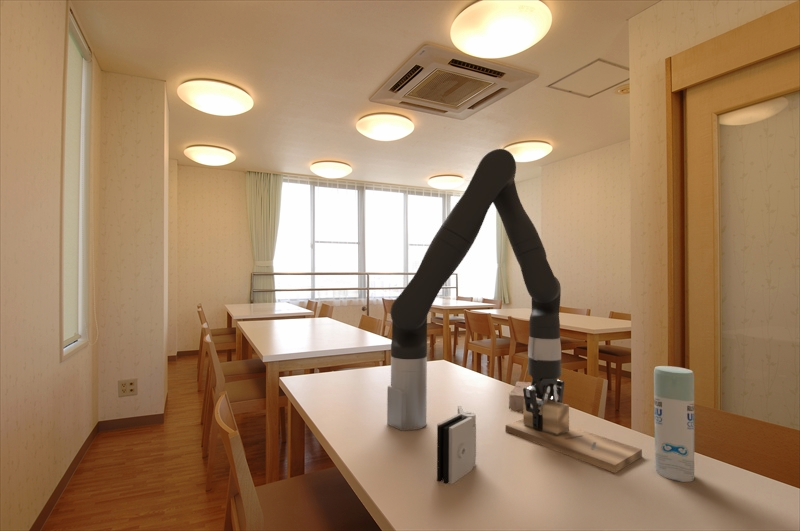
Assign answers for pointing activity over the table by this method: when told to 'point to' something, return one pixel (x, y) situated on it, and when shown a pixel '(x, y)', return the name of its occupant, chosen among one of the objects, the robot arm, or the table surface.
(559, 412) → the block
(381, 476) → the table surface
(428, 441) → the table surface
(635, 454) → the board
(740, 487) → the table surface
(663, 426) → the spray paint can
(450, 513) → the table surface
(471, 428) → the hinge
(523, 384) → the brick
